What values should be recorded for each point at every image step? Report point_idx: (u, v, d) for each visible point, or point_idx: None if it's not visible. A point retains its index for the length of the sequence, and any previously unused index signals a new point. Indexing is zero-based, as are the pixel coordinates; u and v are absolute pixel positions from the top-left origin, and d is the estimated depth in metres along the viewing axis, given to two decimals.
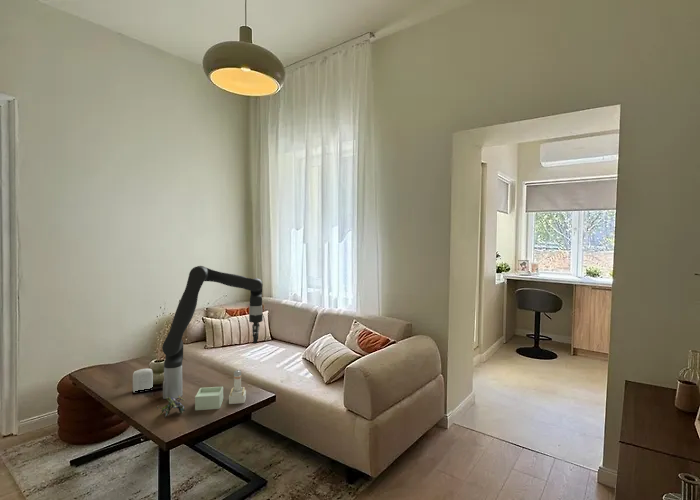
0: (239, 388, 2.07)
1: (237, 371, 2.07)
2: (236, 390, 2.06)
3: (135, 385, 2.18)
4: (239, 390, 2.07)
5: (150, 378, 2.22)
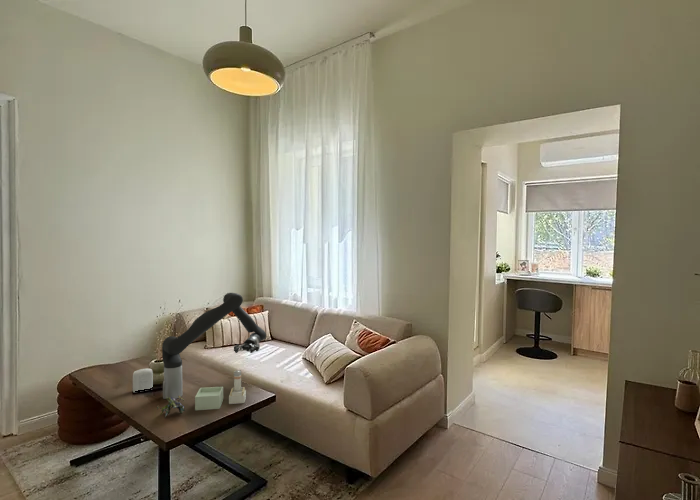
0: (239, 388, 2.07)
1: (237, 371, 2.07)
2: (236, 390, 2.06)
3: (135, 385, 2.18)
4: (239, 390, 2.07)
5: (150, 378, 2.22)
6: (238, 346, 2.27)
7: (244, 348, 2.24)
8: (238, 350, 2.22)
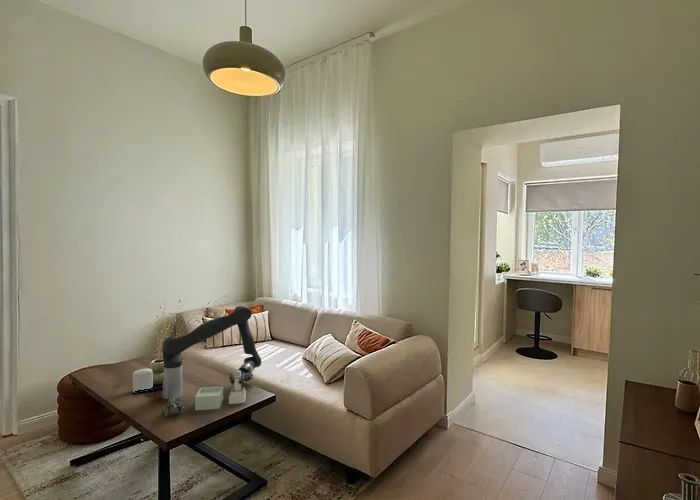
0: (239, 388, 2.07)
1: (237, 371, 2.07)
2: (236, 390, 2.06)
3: (135, 385, 2.18)
4: (239, 390, 2.07)
5: (150, 378, 2.22)
6: (232, 376, 2.13)
7: None
8: None
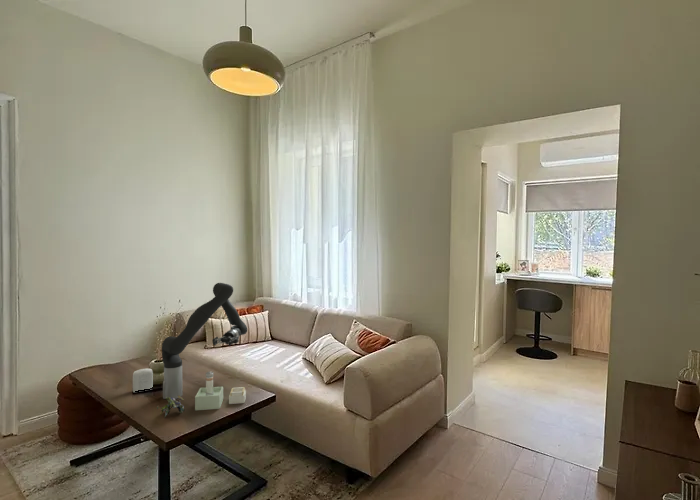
0: (211, 390, 2.01)
1: (209, 373, 2.02)
2: (208, 392, 2.01)
3: (135, 385, 2.18)
4: (211, 392, 2.01)
5: (150, 378, 2.22)
6: (217, 339, 2.27)
7: (223, 341, 2.25)
8: (217, 342, 2.22)
